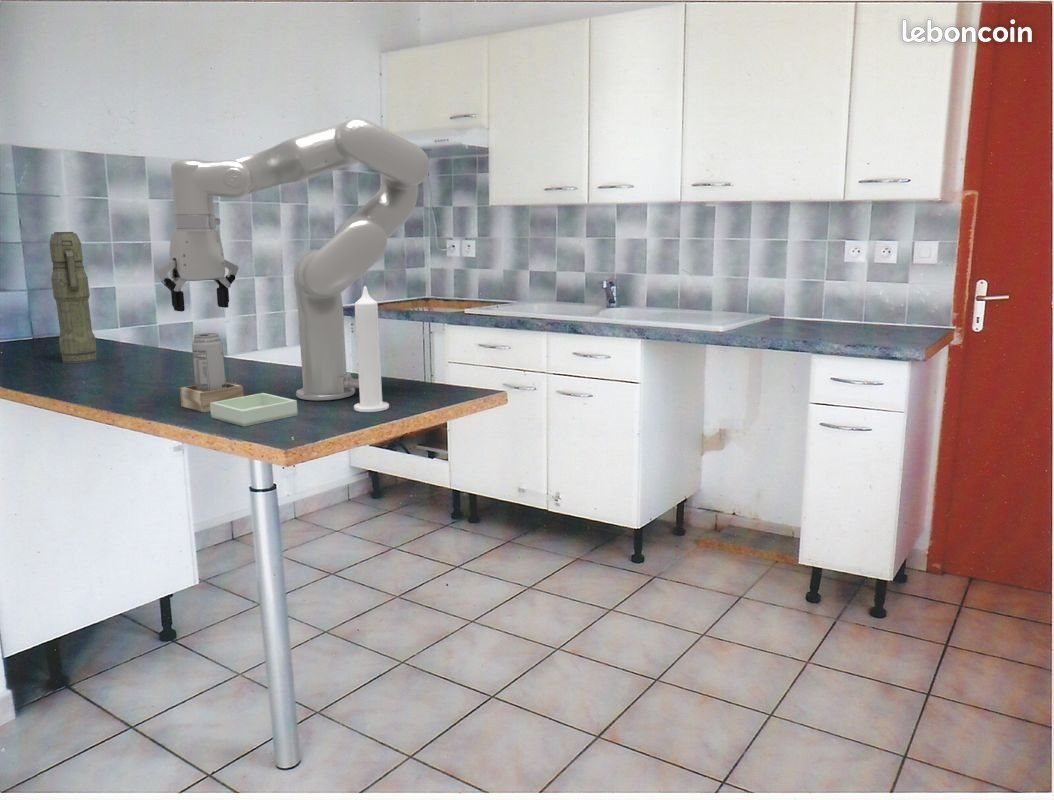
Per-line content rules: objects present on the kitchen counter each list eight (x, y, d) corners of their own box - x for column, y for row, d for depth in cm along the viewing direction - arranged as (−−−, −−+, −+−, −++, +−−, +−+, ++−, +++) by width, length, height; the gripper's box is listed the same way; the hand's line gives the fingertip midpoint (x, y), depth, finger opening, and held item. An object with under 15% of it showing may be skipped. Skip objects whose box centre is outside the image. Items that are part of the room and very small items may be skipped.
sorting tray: (297, 415, 175) (296, 400, 174) (243, 426, 166) (242, 411, 165) (264, 406, 182) (263, 392, 182) (211, 417, 174) (209, 402, 173)
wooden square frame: (244, 404, 185) (242, 386, 184) (203, 412, 178) (201, 393, 177) (221, 398, 191) (219, 380, 190) (181, 406, 184) (179, 387, 183)
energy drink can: (232, 405, 184) (226, 334, 181) (203, 410, 180) (196, 337, 177) (222, 401, 189) (215, 331, 185) (193, 405, 185) (186, 334, 182)
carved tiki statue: (69, 365, 235) (52, 232, 228) (56, 360, 244) (39, 232, 236) (104, 361, 241) (88, 231, 234) (89, 356, 250) (74, 231, 242)
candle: (377, 413, 175) (371, 288, 170) (347, 410, 178) (340, 287, 172) (395, 406, 182) (389, 284, 176) (365, 403, 184) (359, 284, 179)
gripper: (224, 223, 185) (230, 304, 189) (144, 224, 172) (152, 311, 176) (243, 223, 180) (249, 307, 184) (163, 224, 168) (170, 313, 171)
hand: (201, 308), depth 180 cm, fingers open, 9 cm apart
